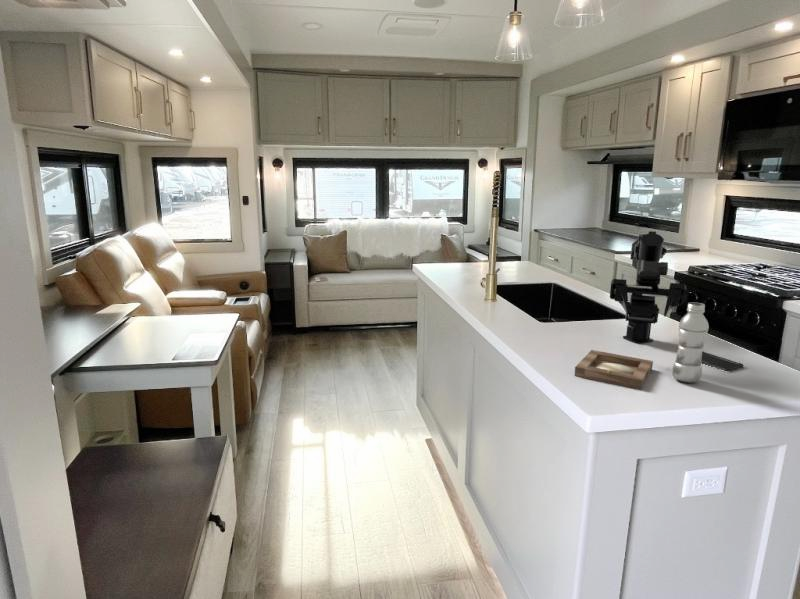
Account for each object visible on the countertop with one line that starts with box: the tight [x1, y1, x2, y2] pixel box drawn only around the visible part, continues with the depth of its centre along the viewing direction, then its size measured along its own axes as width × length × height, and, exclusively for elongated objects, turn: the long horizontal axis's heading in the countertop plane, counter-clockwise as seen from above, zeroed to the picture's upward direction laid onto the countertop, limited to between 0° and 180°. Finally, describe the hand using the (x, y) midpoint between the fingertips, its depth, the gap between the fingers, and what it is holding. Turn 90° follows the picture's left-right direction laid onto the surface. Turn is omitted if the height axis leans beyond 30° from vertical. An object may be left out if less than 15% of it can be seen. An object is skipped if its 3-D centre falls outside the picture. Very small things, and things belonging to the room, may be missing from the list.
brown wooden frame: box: [574, 349, 654, 390], centre depth 142 cm, size 16×16×3 cm
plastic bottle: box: [671, 301, 710, 383], centre depth 135 cm, size 6×7×20 cm
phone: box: [701, 351, 744, 372], centre depth 151 cm, size 8×1×15 cm
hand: (646, 313), depth 143 cm, fingers open, 9 cm apart
